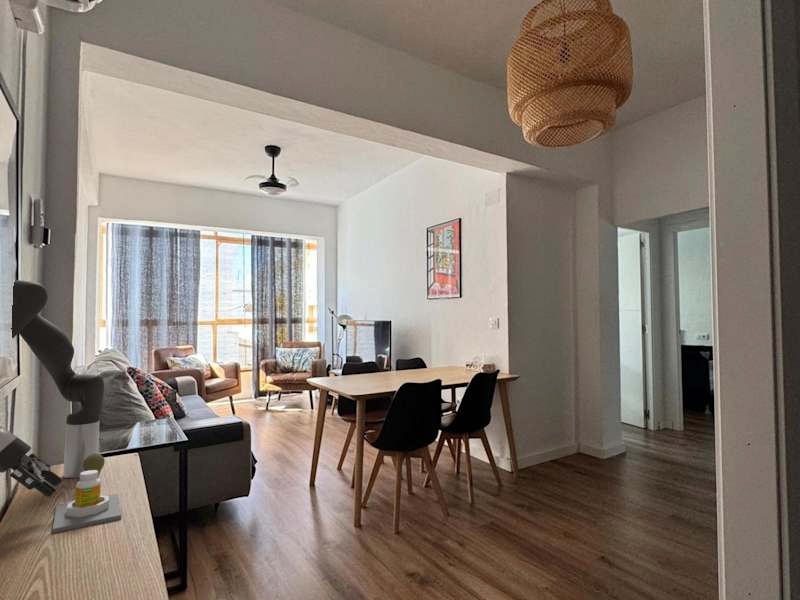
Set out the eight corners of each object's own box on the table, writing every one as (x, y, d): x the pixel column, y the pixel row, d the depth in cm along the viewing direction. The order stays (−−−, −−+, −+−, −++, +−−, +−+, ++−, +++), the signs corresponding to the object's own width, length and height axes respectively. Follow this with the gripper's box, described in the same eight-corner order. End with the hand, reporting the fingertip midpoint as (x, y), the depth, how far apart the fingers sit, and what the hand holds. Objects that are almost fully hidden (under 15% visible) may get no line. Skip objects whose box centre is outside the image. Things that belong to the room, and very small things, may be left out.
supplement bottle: (78, 515, 112) (80, 476, 113) (71, 510, 116) (73, 472, 116) (102, 508, 117) (104, 471, 117) (95, 503, 120) (97, 467, 120)
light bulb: (77, 487, 134) (79, 454, 135) (97, 482, 139) (98, 450, 140) (87, 491, 132) (89, 457, 133) (107, 485, 137) (108, 452, 137)
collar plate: (56, 508, 119) (57, 496, 119) (117, 497, 127) (117, 486, 128) (52, 533, 105) (53, 520, 105) (121, 518, 113) (121, 506, 113)
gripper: (7, 443, 103) (65, 484, 108) (22, 431, 116) (73, 468, 121) (-24, 469, 100) (36, 510, 105) (-6, 454, 113) (48, 491, 118)
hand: (56, 488), depth 113 cm, fingers open, 8 cm apart
